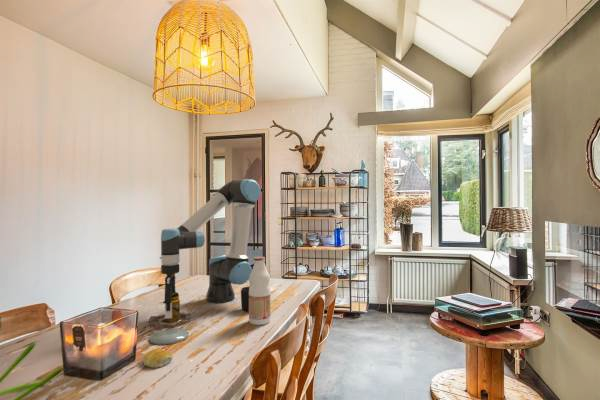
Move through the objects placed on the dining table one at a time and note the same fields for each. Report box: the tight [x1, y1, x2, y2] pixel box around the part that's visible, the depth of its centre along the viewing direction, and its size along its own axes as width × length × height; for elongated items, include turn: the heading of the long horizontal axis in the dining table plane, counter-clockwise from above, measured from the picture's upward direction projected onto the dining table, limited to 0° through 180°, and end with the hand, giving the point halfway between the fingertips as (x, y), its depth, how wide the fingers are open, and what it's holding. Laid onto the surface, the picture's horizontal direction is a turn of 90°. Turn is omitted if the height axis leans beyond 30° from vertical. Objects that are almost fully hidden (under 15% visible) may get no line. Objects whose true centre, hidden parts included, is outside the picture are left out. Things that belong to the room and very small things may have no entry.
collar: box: [147, 311, 192, 329], centre depth 153 cm, size 17×17×2 cm
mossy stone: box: [142, 348, 174, 369], centre depth 113 cm, size 8×9×4 cm
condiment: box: [158, 292, 183, 324], centre depth 153 cm, size 7×8×12 cm
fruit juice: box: [248, 256, 272, 326], centre depth 151 cm, size 9×9×28 cm
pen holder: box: [240, 286, 250, 313], centre depth 169 cm, size 9×9×10 cm
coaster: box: [149, 328, 189, 346], centre depth 134 cm, size 14×14×1 cm
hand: (170, 313), depth 153 cm, fingers open, 11 cm apart
